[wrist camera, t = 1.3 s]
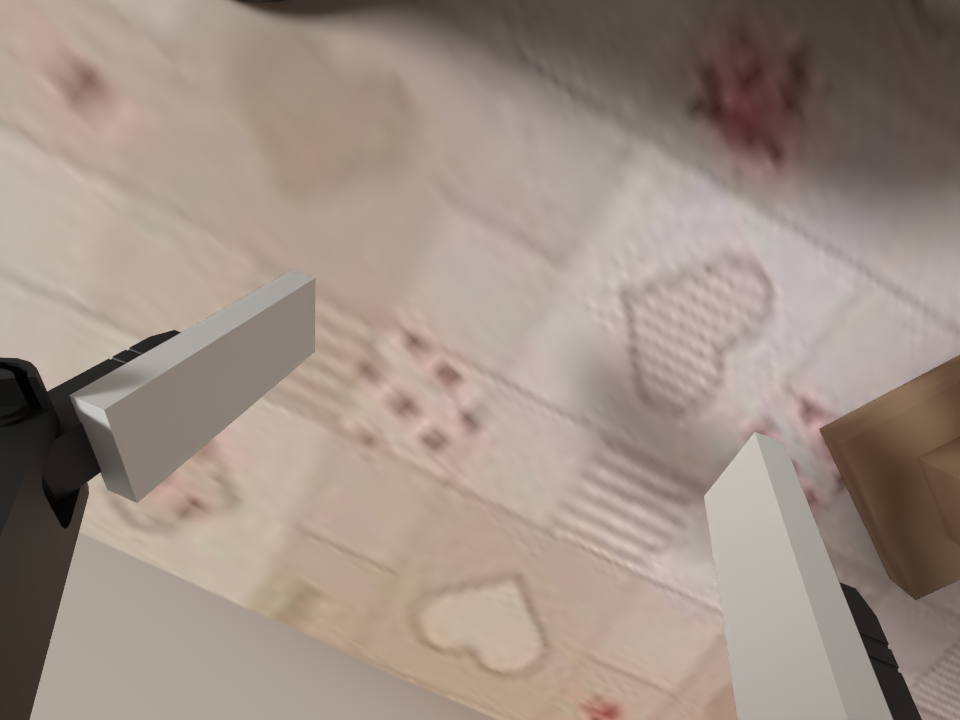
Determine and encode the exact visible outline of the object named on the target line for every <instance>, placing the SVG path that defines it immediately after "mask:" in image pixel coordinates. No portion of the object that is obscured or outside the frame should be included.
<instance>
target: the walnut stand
mask: <svg viewBox="0 0 960 720" xmlns="http://www.w3.org/2000/svg"><path fill="white" fill-rule="evenodd" d="M820 432H821V434H822V436H823V438H824V440H825V442H826V444H827V446H828V449H829V451H830V453H831V455H832V457H833V459H834V461H835V463H836V465H837V468H838V470H839V472H840V474H841V476H842V478H843V480H844V482H845V484H846V487H847V489H848V491H849V493H850V495H851V497H852V499H853V501H854V504H855V506H856V508H857V510H858V512H859V514H860V516H861V518H862V520H863V523H864V525H865V527H866V529H867V531H868V533H869V535H870V537H871V539H872V542H873V544H874V546H875V548H876V550H877V552H878V554H879V556H880V559H881V561H882V563H883V565H884V567H885V569H886V571H887V573H888V575H889V578H890V579H891V580H892V581H893V582H895V583H896V584H897V585H898V586H899V587H901V588H902V589H903V590H904V591H905V592H907V593H908V594H909V595H910V596H911V597H913V598H914V599H915V600H917V599H919V598H921V597H923V596H925V595H928V594H930V593H932V592H934V591H936V590H939V589H941V588H943V587H945V586H947V585H949V584H952V583H954V582H956V581H958V580H960V355H959V356H957V357H955V358H953V359H951V360H950V361H948V362H946V363H944V364H942V365H940V366H938V367H936V368H934V369H933V370H931V371H929V372H927V373H925V374H923V375H921V376H919V377H917V378H915V379H914V380H912V381H910V382H908V383H906V384H904V385H902V386H900V387H898V388H897V389H895V390H893V391H891V392H889V393H887V394H885V395H883V396H881V397H879V398H878V399H876V400H874V401H872V402H870V403H868V404H866V405H864V406H862V407H860V408H859V409H857V410H855V411H853V412H851V413H849V414H847V415H845V416H843V417H842V418H840V419H838V420H836V421H834V422H832V423H830V424H828V425H826V426H824V427H823V428H821V429H820Z"/></svg>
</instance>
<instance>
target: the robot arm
mask: <svg viewBox="0 0 960 720" xmlns="http://www.w3.org/2000/svg"><path fill="white" fill-rule="evenodd" d="M248 1H260V2H269V1H281V0H248ZM314 352H315V278H314V277H311V276H308V275H306V274H303V273H300V272H297V271H294V270H292V271H290V272H288V273H287V274H285V275H283V276H281V277H279V278H278V279H276V280H274V281H272V282H271V283H269V284H267V285H265V286H263V287H262V288H260V289H258V290H256V291H254V292H253V293H251V294H249V295H247V296H246V297H244V298H242V299H240V300H238V301H237V302H235V303H233V304H231V305H230V306H228V307H226V308H224V309H222V310H221V311H219V312H217V313H215V314H213V315H212V316H210V317H208V318H206V319H205V320H203V321H201V322H199V323H197V324H196V325H194V326H192V327H190V328H189V329H187V330H185V331H183V332H178V331H176V330H173V331H169V332H166V333H162V334H158V335H155V336H151V337H149V338H147V339H145V340H143V341H141V342H139V343H137V344H136V345H134V346H132V347H130V349H129V350H128V351H127V350H124V351H122V352H121V353H119V354H117V355H115V356H113V358H112V359H111V360H110V359H107V360H106V361H104V362H102V363H100V364H98V365H96V366H94V367H92V368H91V369H89V370H87V371H85V372H83V373H81V374H79V375H78V376H76V377H74V378H72V379H70V380H68V381H66V382H64V383H63V384H61V385H59V386H57V387H55V388H53V389H51V390H49V391H48V392H47V391H46V388H45V386H44V384H43V381H42V379H41V377H40V375H39V372H38V370H37V368H36V367H35V366H34V365H33V364H32V363H31V362H28V361H25V360H21V359H18V358H0V720H29V719H30V715H31V712H32V708H33V704H34V700H35V696H36V693H37V689H38V685H39V681H40V678H41V674H42V670H43V666H44V662H45V659H46V655H47V650H48V647H49V643H50V639H51V636H52V632H53V628H54V624H55V620H56V616H57V613H58V609H59V605H60V601H61V598H62V594H63V590H64V586H65V582H66V579H67V575H68V571H69V567H70V563H71V560H72V556H73V552H74V548H75V544H76V541H77V537H78V533H79V529H80V525H81V522H82V518H83V514H84V510H85V506H86V503H87V499H88V495H89V488H88V484H87V482H88V481H89V480H91V479H92V478H93V477H95V476H96V475H97V474H99V473H100V472H101V475H102V477H103V480H104V482H105V484H106V487H107V489H108V490H109V491H111V492H114V493H116V494H118V495H121V496H123V497H125V498H127V499H130V500H132V501H134V502H137V503H138V502H139V501H140V500H141V499H142V498H144V497H145V496H146V495H147V494H148V493H149V492H151V491H152V490H153V489H154V488H155V487H156V486H158V485H159V484H160V483H161V482H162V481H164V480H165V479H166V478H167V477H168V476H169V475H171V474H172V473H173V472H174V471H175V470H176V469H178V468H179V467H180V466H181V465H182V464H184V463H185V462H186V461H187V460H188V459H189V458H191V457H192V456H193V455H194V454H195V453H196V452H198V451H199V450H200V449H201V448H202V447H203V446H205V445H206V444H207V443H208V442H209V441H211V440H212V439H213V438H214V437H215V436H216V435H218V434H219V433H220V432H221V431H222V430H223V429H225V428H226V427H227V426H228V425H229V424H231V423H232V422H233V421H234V420H235V419H236V418H238V417H239V416H240V415H241V414H242V413H243V412H245V411H246V410H247V409H248V408H249V407H251V406H252V405H253V404H254V403H255V402H256V401H258V400H259V399H260V398H261V397H262V396H263V395H265V394H266V393H267V392H268V391H269V390H270V389H272V388H273V387H274V386H275V385H276V384H278V383H279V382H280V381H281V380H282V379H283V378H285V377H286V376H287V375H288V374H289V373H290V372H292V371H293V370H294V369H295V368H296V367H298V366H299V365H300V364H301V363H302V362H303V361H305V360H306V359H307V358H308V357H309V356H310V355H312V354H313V353H314ZM704 501H705V507H706V514H707V520H708V527H709V533H710V540H711V546H712V553H713V560H714V566H715V573H716V579H717V586H718V592H719V599H720V606H721V612H722V619H723V625H724V632H725V638H726V645H727V651H728V658H729V665H730V671H731V678H732V684H733V691H734V697H735V704H736V711H737V717H738V720H922V719H921V717H920V715H919V712H918V710H917V708H916V706H915V703H914V701H913V699H912V696H911V694H910V692H909V690H908V687H907V685H906V683H905V680H904V678H903V676H902V674H901V673H899V672H898V668H899V667H898V664H897V662H896V660H895V658H894V655H893V653H892V651H891V649H888V642H887V639H886V637H885V635H884V632H883V630H882V628H881V626H880V623H879V621H878V619H877V616H876V615H875V614H874V612H873V611H872V610H871V608H870V607H869V606H868V604H867V603H866V602H865V600H864V599H863V598H862V596H861V595H860V594H859V592H858V591H857V590H856V589H855V588H853V587H850V586H847V585H845V584H842V583H840V582H839V581H838V578H837V576H836V573H835V571H834V568H833V566H832V563H831V561H830V558H829V556H828V553H827V550H826V548H825V545H824V543H823V540H822V538H821V535H820V533H819V530H818V528H817V525H816V522H815V520H814V517H813V515H812V512H811V510H810V507H809V505H808V502H807V500H806V497H805V494H804V492H803V489H802V487H801V484H800V482H799V479H798V477H797V474H796V472H795V469H794V466H793V464H792V461H791V459H790V456H789V454H788V451H787V449H786V446H785V444H784V442H782V441H779V440H776V439H773V438H770V437H767V436H765V435H762V434H759V433H756V432H754V434H753V435H752V436H751V438H750V439H749V440H748V441H747V443H746V444H745V445H744V446H743V448H742V449H741V450H740V451H739V453H738V454H737V455H736V457H735V458H734V459H733V460H732V462H731V463H730V464H729V465H728V467H727V468H726V469H725V470H724V472H723V473H722V474H721V475H720V477H719V478H718V479H717V481H716V482H715V483H714V484H713V486H712V487H711V488H710V489H709V491H708V492H707V493H706V494H705V496H704Z"/></svg>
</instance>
